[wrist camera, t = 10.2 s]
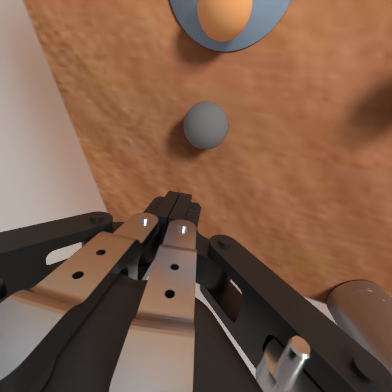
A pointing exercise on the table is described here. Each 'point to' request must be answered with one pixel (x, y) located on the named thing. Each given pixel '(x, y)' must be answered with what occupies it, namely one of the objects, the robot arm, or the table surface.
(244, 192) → the table surface
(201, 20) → the object ball
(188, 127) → the grey ball
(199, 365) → the robot arm
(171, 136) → the table surface
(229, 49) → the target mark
